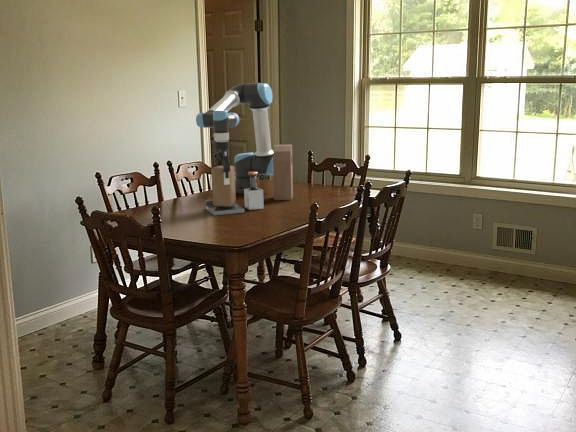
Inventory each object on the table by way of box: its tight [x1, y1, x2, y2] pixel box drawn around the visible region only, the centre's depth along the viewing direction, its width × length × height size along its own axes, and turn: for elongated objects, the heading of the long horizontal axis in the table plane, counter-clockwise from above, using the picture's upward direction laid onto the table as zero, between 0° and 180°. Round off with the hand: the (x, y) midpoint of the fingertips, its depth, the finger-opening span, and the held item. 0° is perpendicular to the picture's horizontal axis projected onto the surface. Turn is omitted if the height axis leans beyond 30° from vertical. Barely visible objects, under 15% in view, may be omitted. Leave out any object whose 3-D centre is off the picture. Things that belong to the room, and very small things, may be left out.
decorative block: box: [272, 144, 294, 201], centre depth 357 cm, size 10×10×30 cm
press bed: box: [204, 199, 245, 216], centre depth 330 cm, size 18×16×4 cm
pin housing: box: [243, 186, 265, 211], centre depth 334 cm, size 8×8×10 cm
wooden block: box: [210, 165, 237, 207], centre depth 327 cm, size 10×10×20 cm
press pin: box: [248, 172, 258, 190], centre depth 333 cm, size 5×5×11 cm
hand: (223, 182), depth 327 cm, fingers closed on wooden block, 13 cm apart
